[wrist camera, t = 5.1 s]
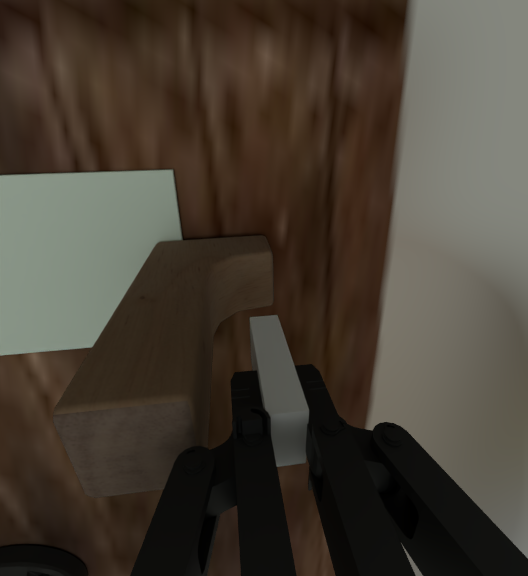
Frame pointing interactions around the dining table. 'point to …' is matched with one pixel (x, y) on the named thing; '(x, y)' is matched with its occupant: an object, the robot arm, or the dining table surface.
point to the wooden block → (158, 363)
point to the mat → (76, 251)
